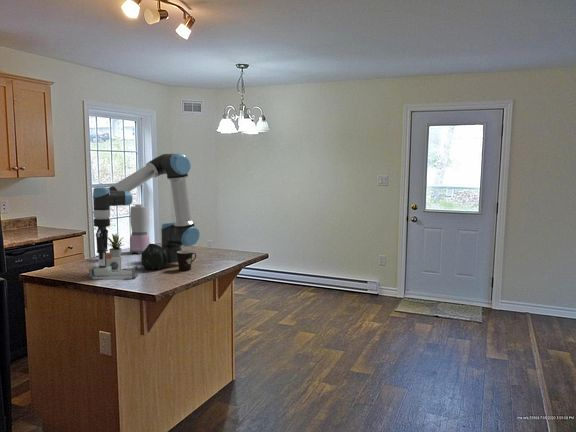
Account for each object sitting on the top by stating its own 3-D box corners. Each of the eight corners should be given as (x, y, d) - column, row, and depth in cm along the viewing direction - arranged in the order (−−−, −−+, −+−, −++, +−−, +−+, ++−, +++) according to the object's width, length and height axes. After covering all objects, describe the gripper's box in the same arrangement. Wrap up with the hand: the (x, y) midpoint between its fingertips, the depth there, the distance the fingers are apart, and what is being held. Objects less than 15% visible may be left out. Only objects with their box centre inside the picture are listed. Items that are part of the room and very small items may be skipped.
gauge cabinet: (121, 271, 236) (121, 256, 235) (118, 274, 230) (118, 259, 229) (103, 271, 235) (103, 257, 234) (100, 274, 228) (99, 259, 228)
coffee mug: (179, 272, 238) (178, 253, 237) (175, 268, 246) (175, 251, 245) (200, 270, 244) (200, 252, 243) (195, 267, 251) (195, 249, 250)
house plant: (98, 258, 271) (97, 231, 270) (120, 255, 280) (120, 230, 279) (106, 261, 261) (106, 234, 259) (129, 259, 270) (129, 232, 268)
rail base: (137, 275, 228) (137, 266, 228) (135, 278, 221) (135, 268, 221) (93, 276, 225) (93, 266, 224) (88, 279, 218) (88, 269, 218)
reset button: (112, 260, 234) (112, 253, 233) (110, 261, 230) (110, 254, 229) (104, 260, 233) (104, 253, 233) (102, 261, 229) (102, 254, 229)
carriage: (111, 272, 226) (111, 246, 224) (108, 275, 220) (108, 248, 218) (97, 272, 225) (96, 246, 223) (93, 275, 219) (93, 248, 217)
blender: (142, 254, 285) (142, 205, 282) (125, 253, 288) (125, 204, 285) (155, 250, 300) (155, 204, 297) (139, 249, 303) (138, 203, 300)
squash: (177, 257, 251) (161, 237, 251) (165, 263, 236) (147, 241, 237) (160, 272, 254) (144, 252, 255) (147, 279, 240) (130, 257, 240)
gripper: (98, 216, 227) (99, 261, 229) (89, 219, 211) (90, 268, 213) (113, 216, 228) (114, 261, 230) (105, 219, 212) (106, 268, 215)
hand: (102, 264), depth 222 cm, fingers closed on carriage, 2 cm apart
